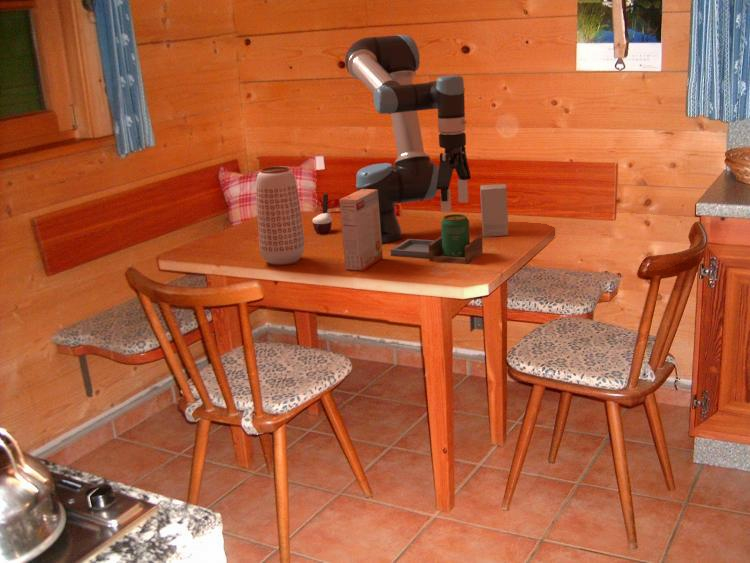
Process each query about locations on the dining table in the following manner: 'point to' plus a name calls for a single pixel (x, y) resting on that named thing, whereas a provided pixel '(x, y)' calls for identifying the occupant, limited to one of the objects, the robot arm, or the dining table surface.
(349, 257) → the cracker box
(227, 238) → the dining table surface
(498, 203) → the skincare box
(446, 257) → the caddy
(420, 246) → the tray
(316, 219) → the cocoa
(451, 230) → the beverage can
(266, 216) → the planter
